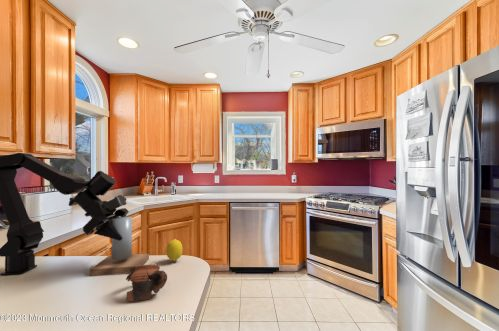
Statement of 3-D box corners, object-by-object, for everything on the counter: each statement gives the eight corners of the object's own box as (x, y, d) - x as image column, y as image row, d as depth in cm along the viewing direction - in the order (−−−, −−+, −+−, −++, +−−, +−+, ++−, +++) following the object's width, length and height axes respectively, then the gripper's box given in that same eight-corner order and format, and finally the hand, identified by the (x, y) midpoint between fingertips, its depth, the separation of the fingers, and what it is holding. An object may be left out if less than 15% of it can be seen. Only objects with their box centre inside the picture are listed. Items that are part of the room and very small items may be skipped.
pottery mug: (113, 304, 57) (119, 268, 61) (141, 303, 65) (144, 271, 69) (155, 296, 55) (158, 259, 59) (178, 296, 62) (179, 263, 67)
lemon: (177, 264, 80) (177, 241, 80) (163, 263, 81) (163, 240, 82) (185, 259, 86) (185, 237, 86) (171, 258, 87) (171, 236, 87)
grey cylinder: (111, 261, 75) (112, 220, 76) (111, 255, 80) (111, 217, 81) (132, 257, 79) (133, 218, 79) (130, 252, 84) (131, 216, 84)
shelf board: (90, 275, 73) (90, 269, 73) (108, 261, 85) (108, 255, 85) (137, 272, 74) (137, 266, 74) (148, 259, 86) (148, 253, 86)
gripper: (93, 190, 71) (130, 225, 71) (123, 186, 90) (152, 215, 90) (66, 216, 70) (103, 252, 70) (102, 208, 89) (131, 236, 89)
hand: (125, 237), depth 80 cm, fingers closed on grey cylinder, 6 cm apart
